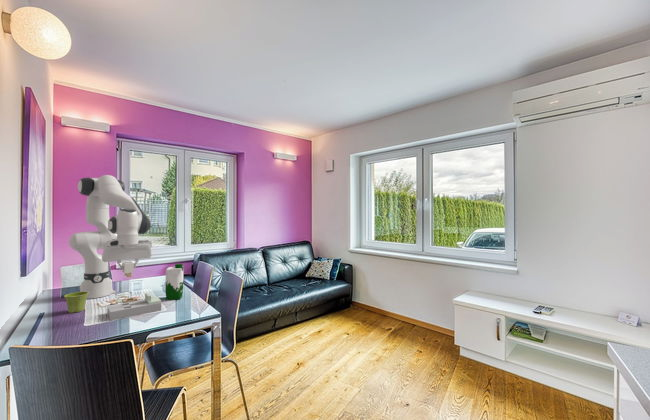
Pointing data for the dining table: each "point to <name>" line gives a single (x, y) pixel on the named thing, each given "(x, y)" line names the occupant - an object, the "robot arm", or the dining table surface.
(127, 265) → the plug
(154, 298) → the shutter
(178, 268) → the milk carton
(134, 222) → the robot arm
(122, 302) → the holder
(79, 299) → the plant pot
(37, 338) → the dining table surface
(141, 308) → the socket
